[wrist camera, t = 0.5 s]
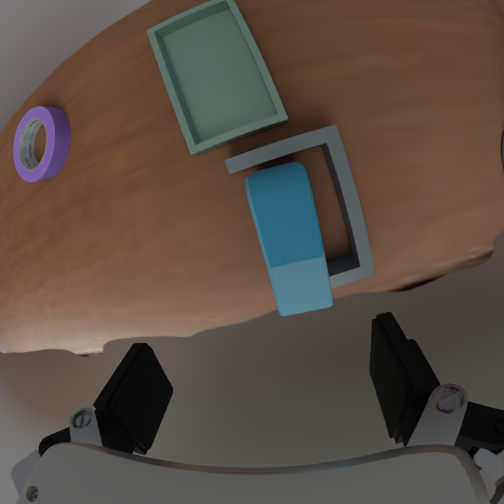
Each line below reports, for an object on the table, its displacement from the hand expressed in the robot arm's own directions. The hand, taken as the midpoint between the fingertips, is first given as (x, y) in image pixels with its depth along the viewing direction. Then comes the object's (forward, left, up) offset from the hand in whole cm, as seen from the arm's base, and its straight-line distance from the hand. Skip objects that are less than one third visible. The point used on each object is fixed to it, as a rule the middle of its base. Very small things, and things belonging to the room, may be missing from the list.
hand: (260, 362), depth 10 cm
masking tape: (+28, -24, -23) cm, 44 cm away
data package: (-2, 0, -23) cm, 23 cm away
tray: (0, -19, -23) cm, 30 cm away
